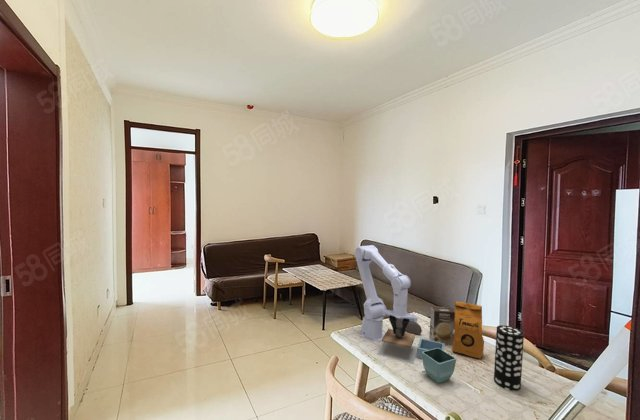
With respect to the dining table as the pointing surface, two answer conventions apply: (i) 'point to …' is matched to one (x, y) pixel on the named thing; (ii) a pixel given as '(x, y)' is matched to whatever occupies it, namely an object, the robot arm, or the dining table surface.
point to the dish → (427, 346)
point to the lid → (398, 338)
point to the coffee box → (442, 325)
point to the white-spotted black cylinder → (508, 357)
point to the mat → (398, 352)
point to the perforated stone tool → (410, 326)
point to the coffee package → (468, 330)
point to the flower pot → (438, 364)
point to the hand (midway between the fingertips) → (398, 334)
